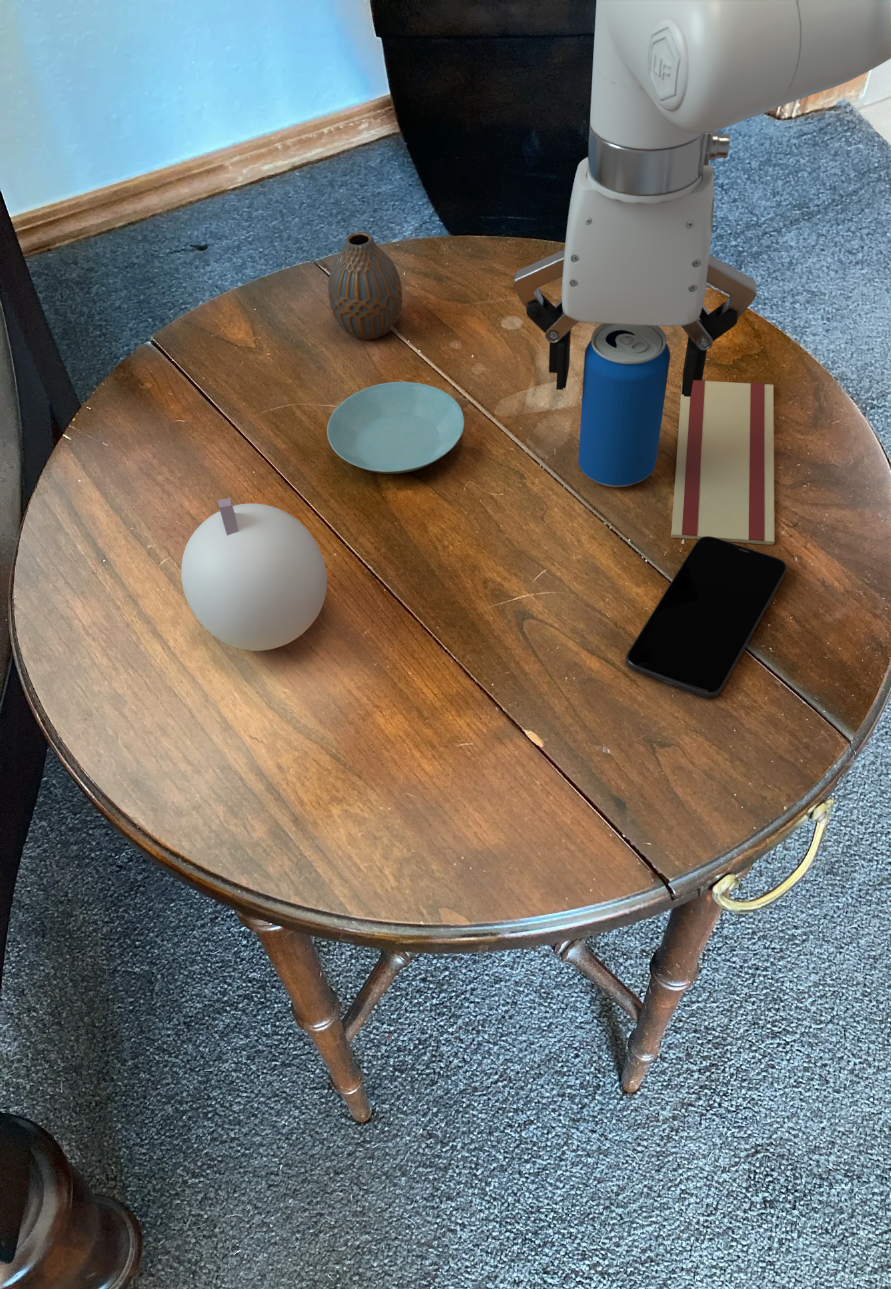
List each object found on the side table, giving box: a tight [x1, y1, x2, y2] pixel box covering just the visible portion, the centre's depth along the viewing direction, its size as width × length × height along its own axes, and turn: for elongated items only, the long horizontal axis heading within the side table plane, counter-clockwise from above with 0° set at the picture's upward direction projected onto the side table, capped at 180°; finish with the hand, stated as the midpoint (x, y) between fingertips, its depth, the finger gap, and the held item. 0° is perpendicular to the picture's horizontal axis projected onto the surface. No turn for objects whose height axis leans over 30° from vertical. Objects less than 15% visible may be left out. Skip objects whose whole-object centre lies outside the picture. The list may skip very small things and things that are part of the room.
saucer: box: [326, 381, 465, 475], centre depth 93 cm, size 12×12×2 cm
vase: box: [327, 231, 403, 341], centre depth 100 cm, size 7×7×9 cm
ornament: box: [180, 497, 328, 652], centre depth 78 cm, size 10×10×12 cm
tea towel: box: [670, 379, 775, 546], centre depth 91 cm, size 8×20×1 cm, turn 171°
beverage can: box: [578, 323, 671, 488], centre depth 86 cm, size 6×6×12 cm
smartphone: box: [625, 536, 788, 699], centre depth 81 cm, size 7×1×15 cm
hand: (624, 382), depth 84 cm, fingers open, 9 cm apart
